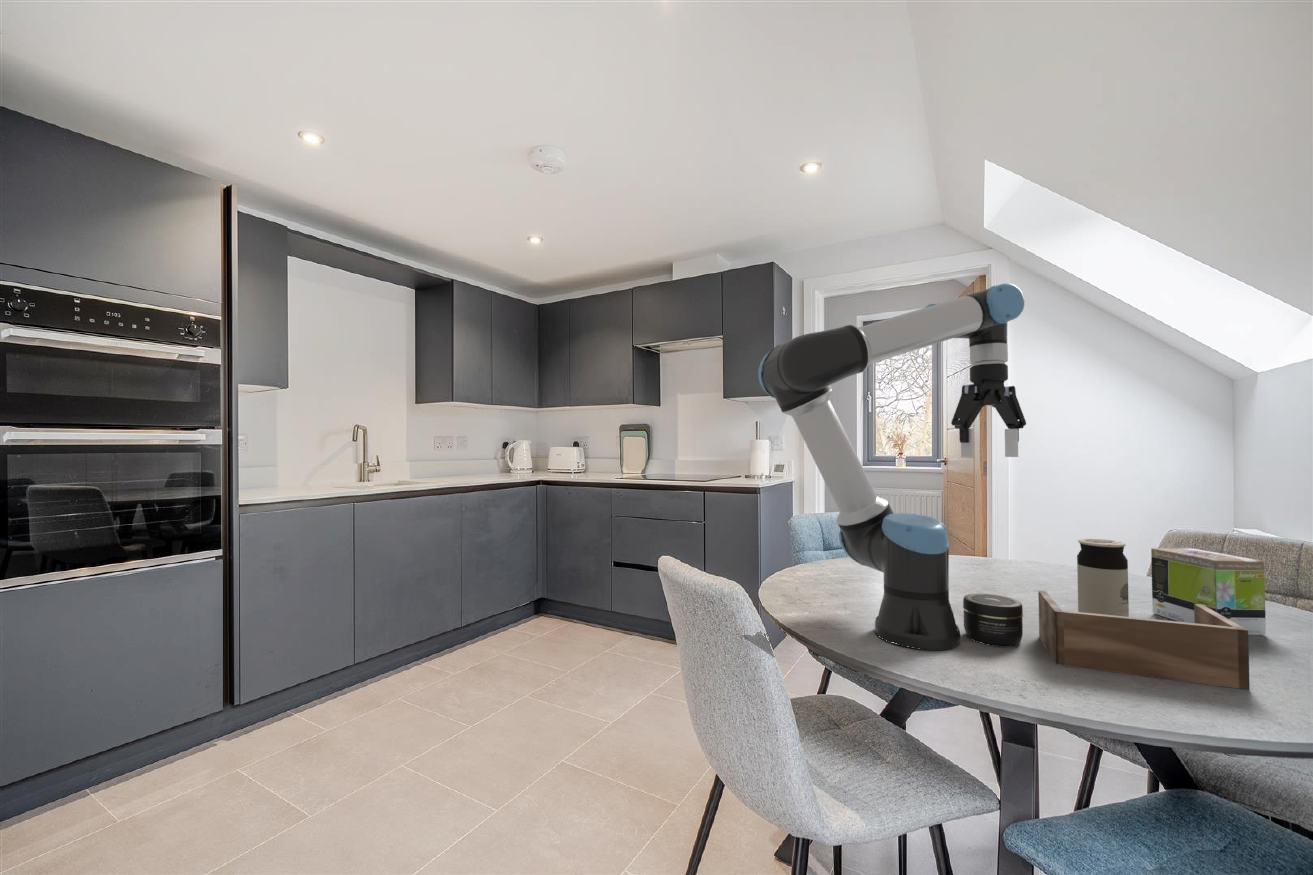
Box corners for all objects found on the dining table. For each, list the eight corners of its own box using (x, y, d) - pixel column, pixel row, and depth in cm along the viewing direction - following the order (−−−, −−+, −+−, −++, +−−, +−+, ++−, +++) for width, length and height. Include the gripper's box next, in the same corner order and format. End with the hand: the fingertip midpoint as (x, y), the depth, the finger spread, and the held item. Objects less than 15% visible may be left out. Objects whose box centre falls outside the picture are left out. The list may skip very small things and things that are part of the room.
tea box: (1269, 636, 109) (1267, 560, 109) (1216, 636, 109) (1214, 560, 110) (1196, 613, 124) (1194, 546, 125) (1150, 613, 124) (1148, 546, 125)
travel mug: (1069, 627, 115) (1067, 539, 115) (1094, 623, 118) (1093, 537, 118) (1112, 640, 107) (1110, 546, 108) (1138, 635, 110) (1136, 543, 111)
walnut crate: (1039, 636, 110) (1038, 590, 110) (1204, 655, 99) (1203, 604, 99) (1056, 664, 96) (1055, 611, 96) (1249, 689, 85) (1248, 630, 86)
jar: (964, 627, 116) (963, 590, 116) (1022, 635, 111) (1021, 596, 111) (962, 642, 107) (961, 602, 107) (1025, 651, 102) (1024, 609, 102)
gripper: (1012, 369, 136) (1014, 456, 136) (933, 364, 128) (934, 457, 128) (1043, 364, 129) (1044, 456, 129) (961, 359, 121) (962, 458, 121)
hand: (990, 457), depth 128 cm, fingers open, 13 cm apart
